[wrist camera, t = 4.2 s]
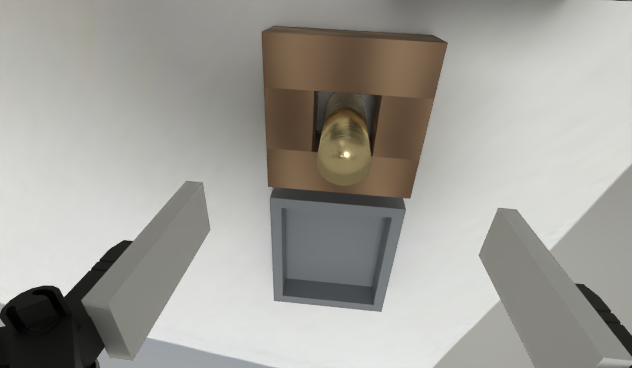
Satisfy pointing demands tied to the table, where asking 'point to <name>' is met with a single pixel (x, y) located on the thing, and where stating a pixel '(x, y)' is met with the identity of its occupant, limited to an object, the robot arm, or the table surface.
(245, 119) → the table surface
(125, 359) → the robot arm
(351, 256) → the tray
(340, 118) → the lock pin
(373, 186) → the block
